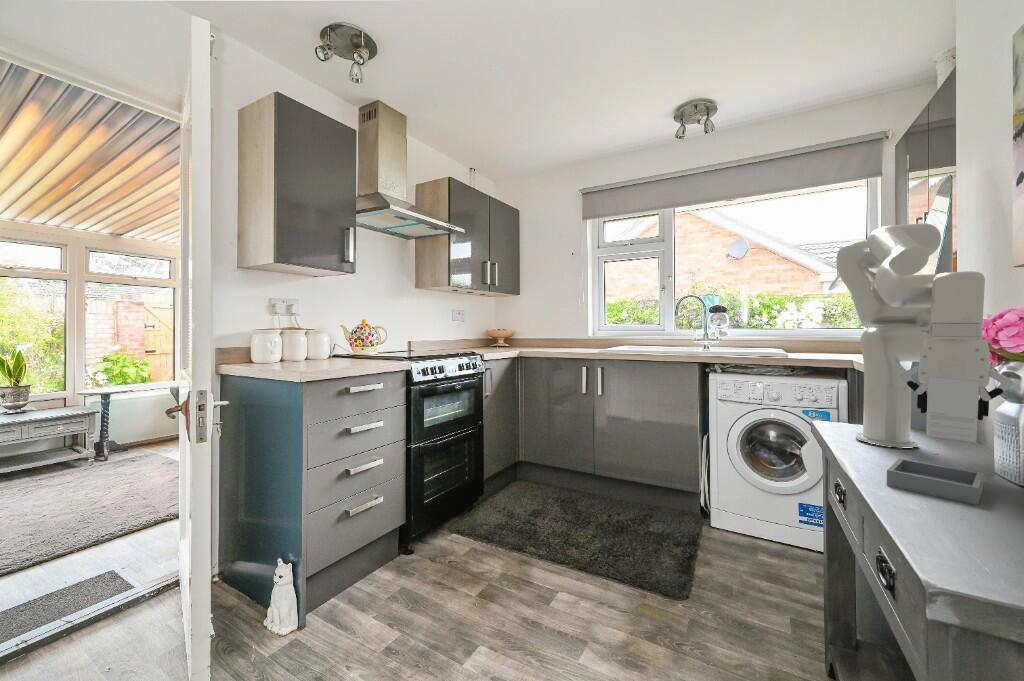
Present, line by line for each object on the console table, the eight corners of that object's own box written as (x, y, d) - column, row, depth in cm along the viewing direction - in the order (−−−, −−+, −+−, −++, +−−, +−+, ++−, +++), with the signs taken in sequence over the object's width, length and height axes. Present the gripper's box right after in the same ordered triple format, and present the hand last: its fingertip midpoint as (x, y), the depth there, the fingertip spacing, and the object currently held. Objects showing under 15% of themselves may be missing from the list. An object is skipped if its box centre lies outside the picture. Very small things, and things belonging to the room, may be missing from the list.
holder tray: (898, 472, 91) (899, 458, 91) (983, 488, 81) (983, 473, 81) (886, 485, 83) (886, 470, 83) (978, 505, 74) (978, 488, 74)
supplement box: (975, 436, 89) (978, 376, 88) (976, 443, 84) (980, 380, 83) (926, 429, 94) (928, 373, 93) (924, 436, 89) (927, 376, 88)
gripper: (895, 331, 92) (892, 411, 93) (1020, 333, 79) (1014, 426, 80) (902, 330, 97) (899, 406, 98) (1021, 332, 83) (1015, 420, 84)
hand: (951, 415), depth 89 cm, fingers closed on supplement box, 7 cm apart
